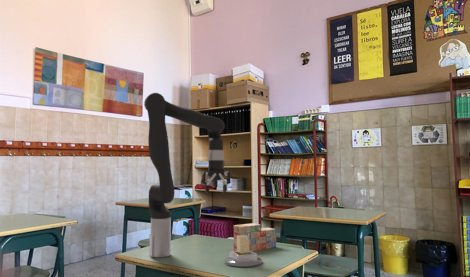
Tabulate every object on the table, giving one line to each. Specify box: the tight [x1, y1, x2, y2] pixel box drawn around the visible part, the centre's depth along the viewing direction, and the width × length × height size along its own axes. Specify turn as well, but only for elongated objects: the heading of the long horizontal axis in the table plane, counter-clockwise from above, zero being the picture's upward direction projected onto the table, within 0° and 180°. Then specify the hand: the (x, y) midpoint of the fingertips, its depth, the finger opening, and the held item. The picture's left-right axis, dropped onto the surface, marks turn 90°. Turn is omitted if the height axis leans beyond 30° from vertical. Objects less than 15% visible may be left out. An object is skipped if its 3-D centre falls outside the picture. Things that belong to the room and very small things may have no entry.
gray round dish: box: [223, 250, 263, 268], centre depth 158 cm, size 16×16×4 cm
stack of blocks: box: [233, 222, 277, 252], centre depth 184 cm, size 21×6×12 cm, turn 119°
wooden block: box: [237, 235, 249, 255], centre depth 158 cm, size 4×4×10 cm
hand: (216, 192), depth 179 cm, fingers open, 8 cm apart
